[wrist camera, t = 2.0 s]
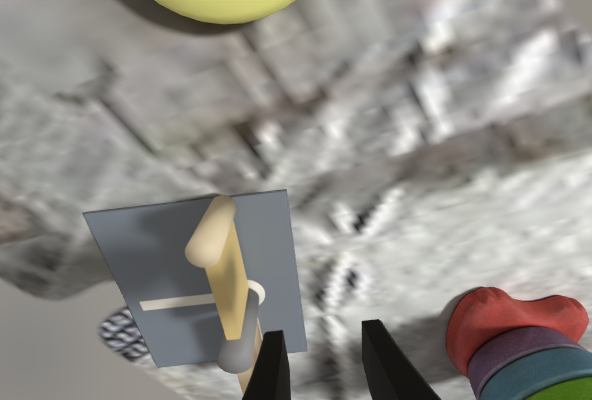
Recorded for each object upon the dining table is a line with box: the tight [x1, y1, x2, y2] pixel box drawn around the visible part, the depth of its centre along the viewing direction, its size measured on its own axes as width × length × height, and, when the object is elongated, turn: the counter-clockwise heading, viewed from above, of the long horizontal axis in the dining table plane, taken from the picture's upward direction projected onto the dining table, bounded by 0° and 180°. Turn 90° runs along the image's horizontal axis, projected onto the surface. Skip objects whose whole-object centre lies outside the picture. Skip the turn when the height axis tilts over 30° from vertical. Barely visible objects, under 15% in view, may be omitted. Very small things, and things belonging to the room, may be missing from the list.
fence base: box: [237, 320, 262, 395], centre depth 20 cm, size 6×2×5 cm, turn 6°
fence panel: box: [185, 195, 259, 374], centre depth 17 cm, size 9×2×5 cm, turn 6°
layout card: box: [84, 189, 307, 368], centre depth 21 cm, size 15×13×1 cm
